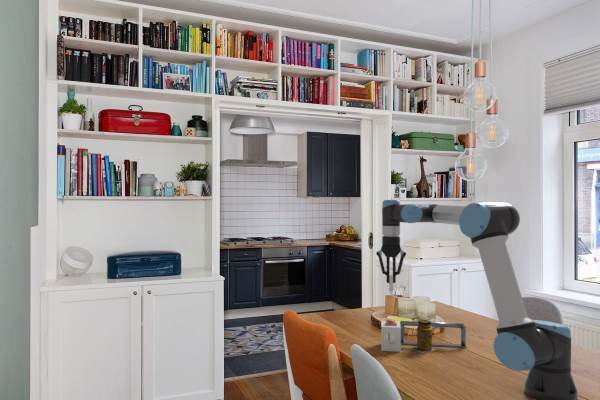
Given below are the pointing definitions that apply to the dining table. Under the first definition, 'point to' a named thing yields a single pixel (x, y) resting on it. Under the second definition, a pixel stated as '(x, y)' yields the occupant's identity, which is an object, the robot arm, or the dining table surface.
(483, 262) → the robot arm
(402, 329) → the handrail
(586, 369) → the dining table surface
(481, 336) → the dining table surface
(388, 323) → the plunger
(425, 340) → the condiment
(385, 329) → the cabinet
